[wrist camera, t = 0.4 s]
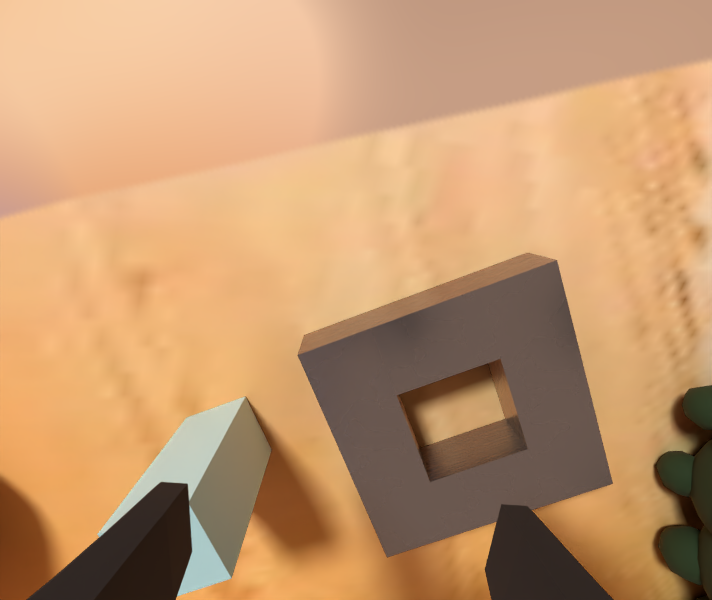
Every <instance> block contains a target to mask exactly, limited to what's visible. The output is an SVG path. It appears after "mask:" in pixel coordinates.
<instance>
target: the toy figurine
mask: <svg viewBox="0 0 712 600" xmlns="http://www.w3.org/2000/svg"><path fill="white" fill-rule="evenodd" d="M682 407H683V410H684V413H685V416H686V417H688V418H689V419H690V420H691V421H693V422H694V423H695V424H697V425H698V426H699V427H701V428H702V429H703V430H712V385H711V386H704V387H698V388H691V389H689V390H688V391H687V393H686V394H685V397H684V400H683V403H682ZM656 468H657V470H658V473H659V475H660V477H661V480H662V482H663V484H664V486H665V487H667V488H668V489H670V490H672V491H673V492H675V493H677V494H679V495H682V496H686V497H691V499H692V502H693V504H694V507H695V509H696V512H697V514H698V516H699V518H700V519H701V521H702V522H703V524H704V527H703V528H702V530H701V531H700V530H698V529H696V528H694V527H689V526H684V525H677V526H671V527H666V528H665V529H664V530H663V531H662V533H661V535H660V540H659V544H658V547H659V549H660V551H661V553H662V555H663V557H664V559H665V561H666V563H667V565H668V567H669V568H670V570H671V571H672V572H674V573H675V574H677V575H679V576H680V577H682V578H684V579H685V580H688V581H690V582H693V583H695V584H697V585H703V588H704V590H705V592H706V593H707V596H703V597H700V598H698V599H695V600H712V439H711V440H710V441H708V442H707V443H706V444H705V445H704V446H703V447H702V448H701V450H700V451H699V452H698V453H697V454H696V455H695V456H692V455H690V454H687V453H685V452H683V451H668V452H667V453H666V454H664V455H663V456H662V457H661V458H660V460H659V461H658V462H657V464H656Z"/></svg>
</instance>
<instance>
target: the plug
mask: <svg viewBox="0 0 712 600" xmlns="http://www.w3.org/2000/svg"><path fill="white" fill-rule="evenodd" d="M271 450H272V449H271V447H270V445H269V443H268V441H267V439H266V437H265V435H264V433H263V431H262V429H261V427H260V425H259V423H258V421H257V419H256V417H255V415H254V413H253V411H252V409H251V407H250V405H249V402H248V400H247V398H246V396H245V397H243V398H240V399H237V400H234V401H232V402H229V403H226V404H223V405H220V406H218V407H215V408H212V409H209V410H207V411H204V412H201V413H198V414H196V415H193V416H190V417H187V418H186V419H185V420H184V422H183V423H182V424H181V426H180V427H179V428H178V430H177V431H176V432H175V433H174V435H173V436H172V437H171V439H170V440H169V441H168V443H167V444H166V445H165V447H164V448H163V449H162V450H161V452H160V453H159V454H158V456H157V457H156V458H155V460H154V461H153V462H152V464H151V465H150V466H149V468H148V469H147V470H146V471H145V473H144V474H143V475H142V477H141V478H140V479H139V481H138V482H137V483H136V485H135V486H134V487H133V488H132V490H131V491H130V492H129V494H128V495H127V496H126V498H125V499H124V500H123V502H122V503H121V504H120V505H119V507H118V508H117V509H116V511H115V512H114V513H113V515H112V516H111V517H110V519H109V520H108V521H107V523H106V524H105V525H104V526H103V528H102V529H101V530H100V532H99V533H98V536H99V537H100V536H101V535H102V534H104V533H105V532H106V531H107V530H108V529H109V528H110V527H111V526H112V525H114V524H115V523H116V522H117V521H118V520H119V519H120V518H121V517H122V516H123V515H125V514H126V513H127V512H128V511H129V510H130V509H131V508H132V507H133V506H134V505H135V504H137V503H138V502H139V501H140V500H141V499H142V498H143V497H144V496H145V495H146V494H147V493H149V492H150V491H151V490H152V489H153V488H154V487H155V486H156V485H158V484H159V483H160V482H172V483H187V484H188V492H189V507H190V523H191V538H192V554H191V557H190V560H189V563H188V566H187V569H186V572H185V575H184V578H183V581H182V583H181V586H180V589H179V592H178V595H177V596H180V595H183V594H186V593H189V592H192V591H195V590H198V589H201V588H204V587H207V586H210V585H213V584H216V583H219V582H222V581H225V580H228V579H231V578H232V575H233V572H234V569H235V566H236V562H237V559H238V556H239V553H240V550H241V546H242V543H243V540H244V537H245V534H246V530H247V527H248V524H249V521H250V518H251V514H252V511H253V508H254V505H255V502H256V498H257V495H258V492H259V489H260V486H261V482H262V479H263V476H264V473H265V470H266V466H267V463H268V460H269V457H270V454H271Z"/></svg>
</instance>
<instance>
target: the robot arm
mask: <svg viewBox="0 0 712 600" xmlns="http://www.w3.org/2000/svg"><path fill="white" fill-rule="evenodd" d="M191 554H192V538H191V523H190V507H189V492H188V484H187V483H172V482H160V483H159V484H158V485H156V486H155V487H154V488H153V489H152V490H151V491H150V492H149V493H147V494H146V495H145V496H144V497H143V498H142V499H141V500H140V501H139V502H138V503H137V504H135V505H134V506H133V507H132V508H131V509H130V510H129V511H128V512H127V513H126V514H125V515H123V516H122V517H121V518H120V519H119V520H118V521H117V522H116V523H115V524H114V525H112V526H111V527H110V528H109V529H108V530H107V531H106V532H105V533H104V534H102V535H101V536H100V537H99V538H98V539H97V540H96V541H95V542H93V543H92V544H91V545H90V546H89V547H88V548H87V549H85V550H84V551H83V552H82V553H81V554H80V555H79V556H77V557H76V558H75V559H74V560H73V561H72V562H71V563H70V564H68V565H67V566H66V567H65V568H64V569H63V570H62V571H60V572H59V573H58V574H57V575H56V576H54V577H53V578H52V579H51V580H50V581H49V582H47V583H46V584H45V585H44V586H42V587H41V588H40V589H39V590H38V591H36V592H35V593H34V594H33V595H32V596H30V597H29V598H28V599H27V600H176V597H177V595H178V592H179V589H180V586H181V583H182V581H183V578H184V575H185V572H186V569H187V566H188V563H189V560H190V557H191ZM485 572H486V577H487V581H488V586H489V590H490V595H491V599H492V600H613V599H612V598H611V597H610V596H609V595H608V593H607V592H606V591H605V590H604V589H603V588H602V587H601V586H600V585H599V584H598V583H597V582H596V581H595V580H594V578H593V577H592V576H591V575H590V574H589V573H588V572H587V571H586V570H585V569H584V568H583V567H582V565H581V564H580V563H579V562H578V561H577V560H576V559H575V558H574V557H573V556H572V554H571V553H570V552H569V551H568V550H567V549H566V548H565V547H564V546H563V545H562V543H561V542H560V541H559V540H558V539H557V538H556V537H555V536H554V535H553V533H552V532H551V531H550V530H549V529H548V528H547V527H546V526H545V525H544V523H543V522H542V521H541V520H540V519H539V518H538V517H537V516H536V515H535V514H534V513H533V511H532V510H531V509H530V508H529V507H528V506H521V505H506V504H501V507H500V511H499V515H498V519H497V523H496V527H495V531H494V535H493V539H492V543H491V547H490V551H489V555H488V559H487V563H486V567H485Z"/></svg>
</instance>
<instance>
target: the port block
mask: <svg viewBox="0 0 712 600" xmlns="http://www.w3.org/2000/svg"><path fill="white" fill-rule="evenodd" d="M298 357H299V359H300V361H301V364H302V366H303V368H304V370H305V373H306V375H307V377H308V380H309V382H310V384H311V386H312V389H313V391H314V393H315V395H316V398H317V400H318V402H319V404H320V407H321V409H322V411H323V413H324V416H325V418H326V420H327V423H328V425H329V427H330V429H331V432H332V434H333V436H334V438H335V441H336V443H337V445H338V447H339V450H340V452H341V454H342V456H343V459H344V461H345V463H346V465H347V468H348V470H349V472H350V475H351V477H352V479H353V481H354V484H355V486H356V488H357V490H358V493H359V495H360V497H361V499H362V502H363V504H364V506H365V508H366V511H367V513H368V515H369V518H370V520H371V522H372V524H373V527H374V529H375V531H376V533H377V536H378V538H379V540H380V542H381V545H382V547H383V549H384V551H385V554H386V556H387V557H390V556H393V555H396V554H399V553H402V552H405V551H408V550H411V549H414V548H417V547H420V546H423V545H426V544H430V543H433V542H436V541H439V540H442V539H445V538H448V537H451V536H454V535H457V534H460V533H463V532H466V531H469V530H472V529H475V528H479V527H482V526H485V525H488V524H491V523H494V522H497V519H498V515H499V511H500V507H501V504H506V505H521V506H528V507H529V508H530V509H531V510H534V509H537V508H540V507H543V506H546V505H549V504H552V503H555V502H558V501H561V500H564V499H567V498H570V497H573V496H576V495H580V494H583V493H586V492H589V491H592V490H595V489H598V488H601V487H604V486H607V485H610V484H613V482H612V478H611V474H610V470H609V466H608V462H607V458H606V454H605V450H604V446H603V442H602V438H601V434H600V430H599V426H598V423H597V419H596V415H595V411H594V407H593V403H592V399H591V395H590V391H589V387H588V383H587V379H586V375H585V371H584V367H583V363H582V359H581V355H580V351H579V347H578V343H577V339H576V335H575V331H574V327H573V323H572V319H571V315H570V311H569V307H568V303H567V299H566V295H565V291H564V287H563V283H562V279H561V275H560V271H559V267H558V263H557V260H554V259H550V258H546V257H542V256H538V255H534V254H530V253H526V254H523V255H520V256H518V257H515V258H512V259H510V260H507V261H504V262H501V263H499V264H496V265H493V266H491V267H488V268H485V269H482V270H480V271H477V272H474V273H472V274H469V275H466V276H463V277H461V278H458V279H455V280H453V281H450V282H447V283H445V284H442V285H439V286H436V287H434V288H431V289H428V290H426V291H423V292H420V293H417V294H415V295H412V296H409V297H407V298H404V299H401V300H398V301H396V302H393V303H390V304H388V305H385V306H382V307H379V308H377V309H374V310H371V311H369V312H366V313H363V314H361V315H358V316H355V317H352V318H350V319H347V320H344V321H342V322H339V323H336V324H333V325H331V326H328V327H325V328H323V329H320V330H317V331H314V332H312V333H309V334H306V335H304V337H303V340H302V343H301V346H300V349H299V352H298ZM487 363H488V365H489V368H490V371H491V375H492V378H493V381H494V384H495V387H496V390H497V394H498V397H499V400H500V403H501V406H502V409H503V413H504V416H505V419H504V420H501V421H498V422H495V423H492V424H489V425H486V426H484V427H481V428H478V429H475V430H472V431H469V432H466V433H463V434H460V435H457V436H454V437H451V438H449V439H446V440H443V441H440V442H437V443H434V444H431V445H428V446H425V447H422V448H419V445H418V442H417V440H416V437H415V434H414V432H413V429H412V427H411V424H410V421H409V419H408V416H407V414H406V411H405V408H404V406H403V403H402V401H401V398H400V395H399V394H402V393H405V392H408V391H411V390H413V389H416V388H419V387H422V386H425V385H428V384H430V383H433V382H436V381H439V380H442V379H445V378H447V377H450V376H453V375H456V374H459V373H462V372H464V371H467V370H470V369H473V368H476V367H479V366H481V365H484V364H487Z"/></svg>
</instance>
